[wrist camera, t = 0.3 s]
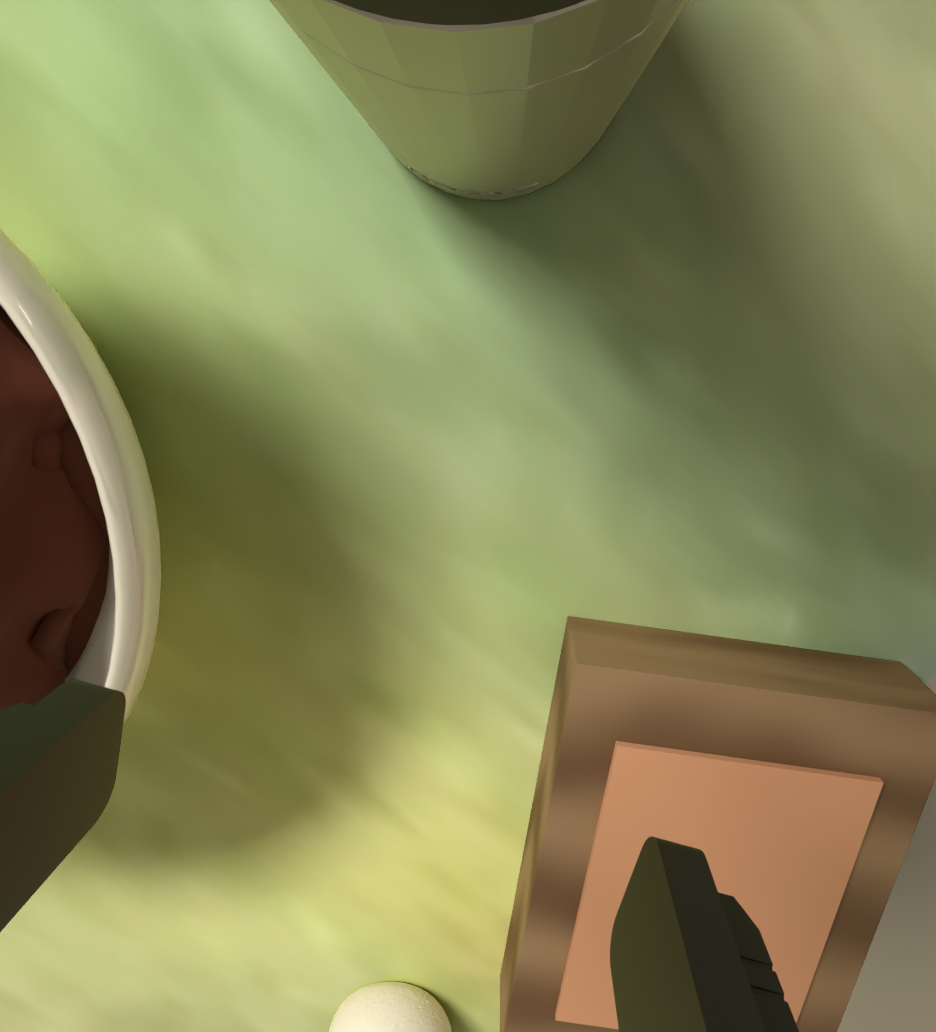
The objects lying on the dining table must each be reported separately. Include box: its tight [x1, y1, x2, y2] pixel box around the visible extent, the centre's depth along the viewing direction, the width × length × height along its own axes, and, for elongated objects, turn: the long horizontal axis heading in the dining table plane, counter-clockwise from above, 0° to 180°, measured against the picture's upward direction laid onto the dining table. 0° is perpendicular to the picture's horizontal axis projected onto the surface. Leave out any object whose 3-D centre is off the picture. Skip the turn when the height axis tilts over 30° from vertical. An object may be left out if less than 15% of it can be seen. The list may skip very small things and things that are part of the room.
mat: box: [555, 741, 883, 1029], centre depth 29 cm, size 14×10×1 cm
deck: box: [500, 616, 936, 1032], centre depth 31 cm, size 20×14×4 cm
